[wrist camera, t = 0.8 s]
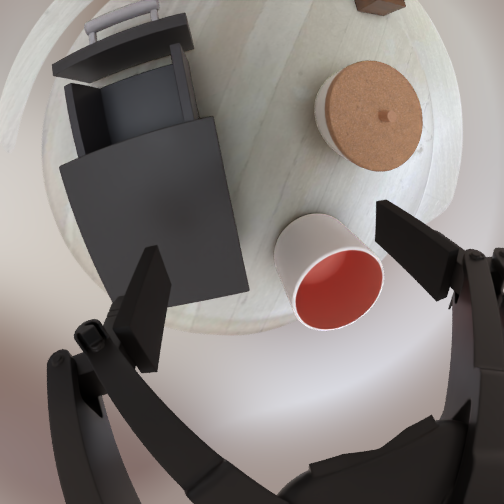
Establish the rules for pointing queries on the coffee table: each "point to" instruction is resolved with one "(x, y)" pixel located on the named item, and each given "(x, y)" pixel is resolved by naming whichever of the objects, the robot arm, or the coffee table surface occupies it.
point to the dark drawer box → (160, 211)
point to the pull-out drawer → (128, 79)
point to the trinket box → (369, 115)
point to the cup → (327, 272)
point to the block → (379, 6)
